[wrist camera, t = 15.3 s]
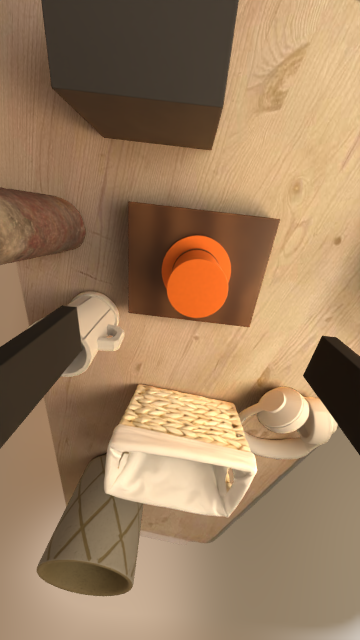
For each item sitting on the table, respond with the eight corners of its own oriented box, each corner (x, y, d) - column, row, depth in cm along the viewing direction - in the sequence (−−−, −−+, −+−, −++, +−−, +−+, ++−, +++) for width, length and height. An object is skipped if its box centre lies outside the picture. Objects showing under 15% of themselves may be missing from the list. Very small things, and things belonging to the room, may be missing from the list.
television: (103, 137, 27) (51, 87, 17) (98, 17, 22) (23, -148, 12) (211, 150, 27) (223, 107, 17) (227, 32, 22) (256, -122, 12)
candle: (38, 243, 33) (-152, 269, 15) (35, 190, 30) (-211, 141, 12) (85, 255, 33) (-42, 295, 15) (88, 204, 30) (-70, 179, 12)
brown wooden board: (133, 306, 37) (128, 312, 34) (134, 203, 30) (128, 201, 27) (245, 319, 36) (249, 327, 34) (272, 219, 30) (280, 219, 27)
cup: (109, 277, 35) (71, 303, 24) (137, 321, 38) (115, 362, 27) (62, 302, 37) (8, 335, 26) (92, 342, 40) (55, 386, 29)
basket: (125, 426, 50) (101, 499, 37) (131, 375, 43) (105, 443, 30) (220, 443, 51) (230, 521, 38) (241, 396, 44) (263, 471, 31)
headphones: (264, 368, 40) (217, 420, 51) (276, 404, 33) (219, 454, 44) (344, 398, 42) (283, 441, 53) (369, 437, 35) (293, 477, 46)
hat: (160, 299, 33) (149, 325, 24) (164, 231, 28) (153, 235, 20) (222, 307, 33) (233, 336, 24) (237, 239, 28) (255, 247, 20)
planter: (165, 473, 58) (152, 586, 40) (122, 495, 64) (95, 601, 46) (111, 439, 53) (69, 551, 35) (71, 467, 59) (18, 574, 41)
